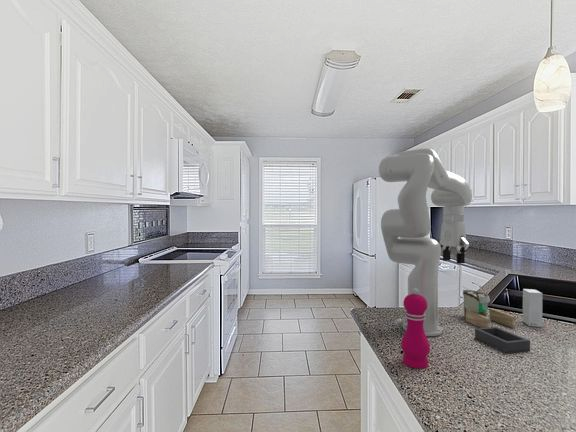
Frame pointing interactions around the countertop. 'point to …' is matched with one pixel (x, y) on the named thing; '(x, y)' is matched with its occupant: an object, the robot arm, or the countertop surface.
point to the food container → (476, 302)
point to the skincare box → (532, 307)
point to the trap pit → (502, 339)
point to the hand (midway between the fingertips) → (453, 261)
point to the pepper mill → (415, 332)
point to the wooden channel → (490, 318)
